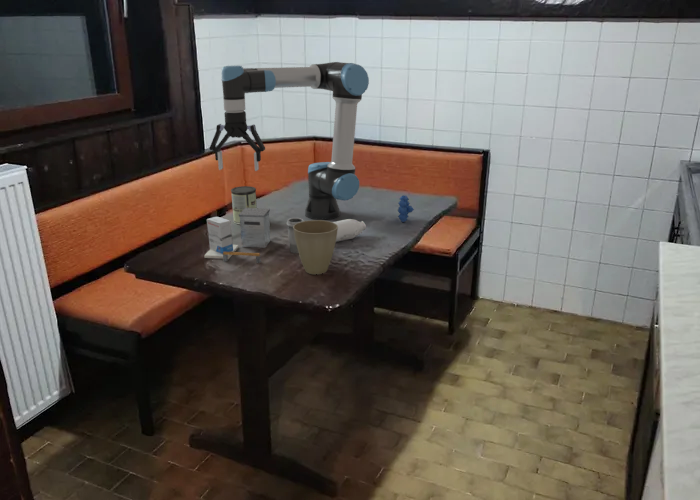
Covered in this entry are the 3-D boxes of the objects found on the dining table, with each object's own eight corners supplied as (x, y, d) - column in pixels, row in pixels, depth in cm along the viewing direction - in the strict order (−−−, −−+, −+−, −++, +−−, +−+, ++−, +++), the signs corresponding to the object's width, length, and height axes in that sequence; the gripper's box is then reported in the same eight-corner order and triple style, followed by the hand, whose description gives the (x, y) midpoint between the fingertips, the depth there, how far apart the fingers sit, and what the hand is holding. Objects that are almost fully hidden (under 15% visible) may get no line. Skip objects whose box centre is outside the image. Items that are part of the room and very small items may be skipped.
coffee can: (236, 217, 268) (234, 185, 263) (260, 218, 267) (258, 186, 262) (230, 224, 259) (227, 192, 254) (254, 225, 258) (252, 192, 253)
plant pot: (342, 277, 206) (341, 231, 200) (297, 280, 203) (296, 235, 197) (333, 261, 220) (333, 218, 214) (292, 264, 217) (290, 221, 211)
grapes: (410, 227, 255) (411, 199, 251) (394, 225, 257) (395, 197, 253) (416, 219, 266) (417, 191, 261) (400, 217, 267) (401, 190, 263)
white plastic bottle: (369, 238, 243) (369, 219, 240) (328, 247, 233) (328, 227, 230) (358, 232, 249) (358, 214, 246) (318, 241, 239) (317, 221, 236)
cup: (285, 249, 231) (283, 218, 227) (301, 246, 233) (301, 216, 229) (291, 255, 225) (289, 224, 220) (308, 252, 227) (307, 221, 223)
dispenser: (275, 240, 240) (274, 208, 235) (259, 263, 218) (257, 228, 213) (242, 239, 241) (240, 207, 237) (223, 261, 219) (220, 227, 215)
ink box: (233, 251, 226) (231, 220, 222) (222, 254, 223) (220, 223, 219) (219, 245, 232) (217, 215, 228) (208, 249, 228) (205, 218, 224)
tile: (238, 247, 233) (238, 244, 232) (228, 258, 221) (228, 256, 221) (215, 246, 234) (215, 243, 233) (204, 257, 222) (204, 255, 222)
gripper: (271, 110, 222) (274, 168, 229) (204, 109, 225) (209, 166, 232) (266, 113, 215) (269, 172, 222) (197, 111, 218) (202, 171, 225)
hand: (238, 169), depth 227 cm, fingers open, 13 cm apart
